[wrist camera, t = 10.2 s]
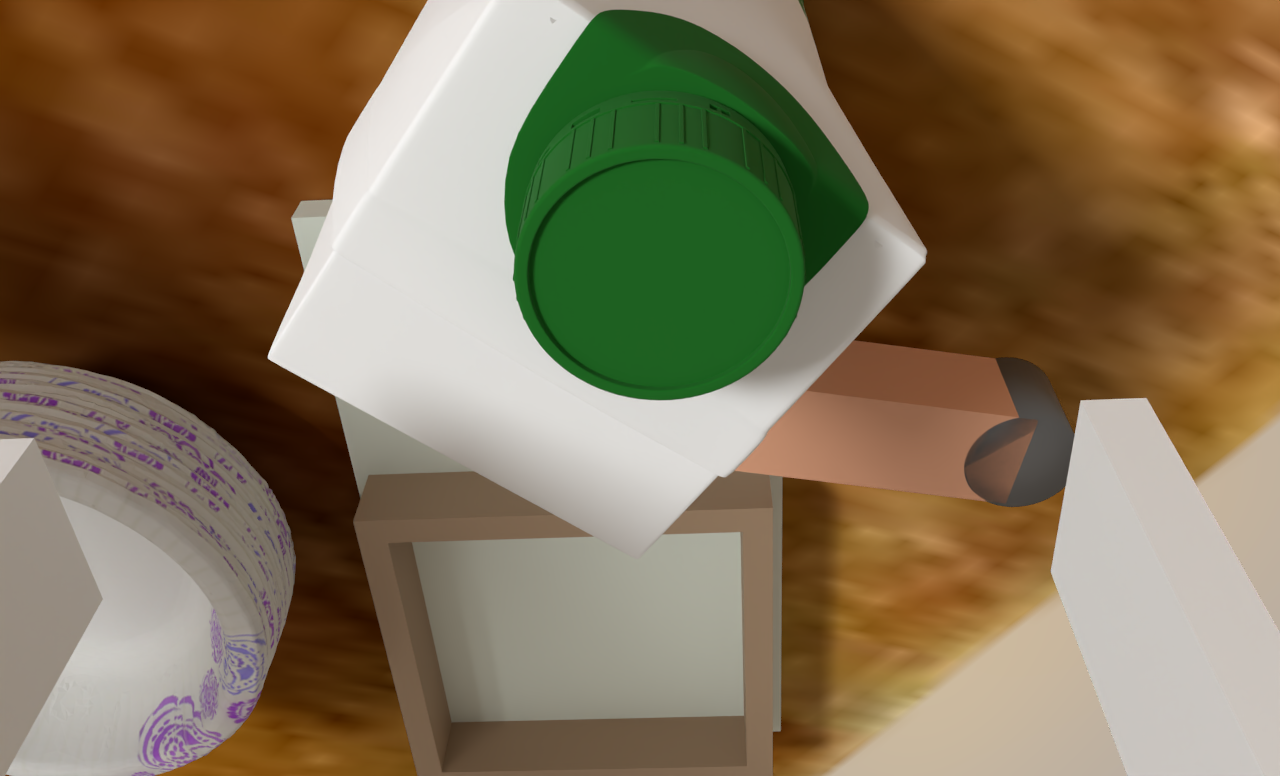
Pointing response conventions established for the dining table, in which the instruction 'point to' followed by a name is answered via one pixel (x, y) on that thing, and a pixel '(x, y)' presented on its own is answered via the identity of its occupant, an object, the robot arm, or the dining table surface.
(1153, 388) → the dining table surface
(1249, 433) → the dining table surface
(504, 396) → the soya milk
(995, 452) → the leg bar
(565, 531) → the seat board
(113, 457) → the paper bowls
